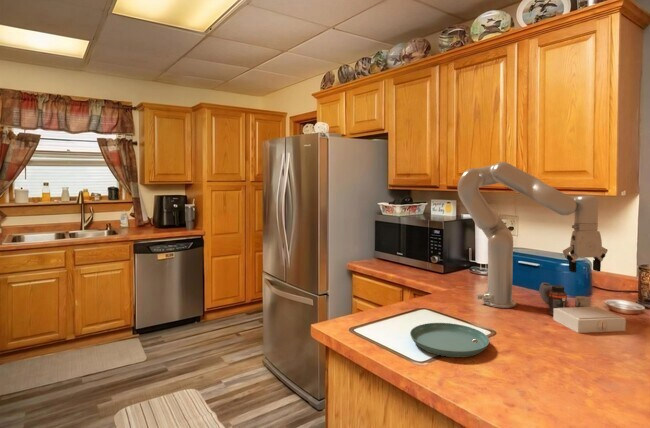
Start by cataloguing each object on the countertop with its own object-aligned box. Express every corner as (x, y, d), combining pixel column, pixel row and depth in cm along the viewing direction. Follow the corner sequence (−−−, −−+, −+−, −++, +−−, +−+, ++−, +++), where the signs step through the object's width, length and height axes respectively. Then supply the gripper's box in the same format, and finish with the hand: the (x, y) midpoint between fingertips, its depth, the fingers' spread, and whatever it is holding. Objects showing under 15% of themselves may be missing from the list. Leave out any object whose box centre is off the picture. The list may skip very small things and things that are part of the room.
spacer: (580, 315, 149) (581, 300, 149) (571, 311, 154) (572, 296, 154) (593, 314, 149) (593, 299, 149) (583, 310, 154) (584, 295, 154)
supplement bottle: (568, 317, 147) (569, 288, 146) (551, 316, 148) (552, 287, 147) (562, 312, 152) (563, 284, 152) (546, 311, 154) (546, 283, 153)
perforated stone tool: (557, 307, 159) (558, 290, 158) (543, 306, 161) (543, 289, 160) (551, 297, 173) (552, 282, 172) (538, 296, 175) (538, 281, 174)
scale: (578, 333, 132) (579, 319, 131) (553, 319, 145) (553, 307, 144) (626, 331, 133) (626, 317, 132) (596, 317, 146) (597, 305, 145)
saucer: (501, 344, 125) (501, 334, 124) (468, 370, 108) (468, 359, 107) (433, 325, 142) (433, 316, 141) (395, 346, 125) (395, 336, 124)
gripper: (570, 229, 145) (569, 274, 146) (614, 227, 146) (613, 272, 147) (557, 227, 152) (556, 269, 154) (599, 225, 153) (598, 268, 155)
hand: (584, 271), depth 150 cm, fingers open, 9 cm apart
